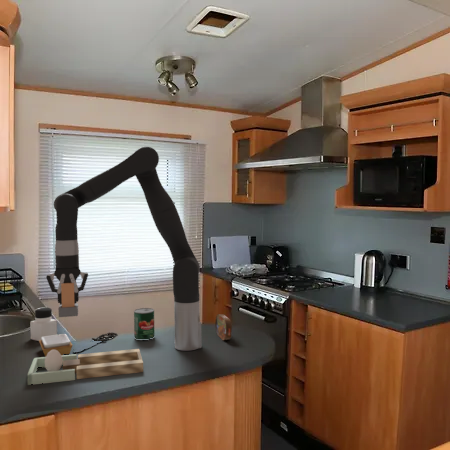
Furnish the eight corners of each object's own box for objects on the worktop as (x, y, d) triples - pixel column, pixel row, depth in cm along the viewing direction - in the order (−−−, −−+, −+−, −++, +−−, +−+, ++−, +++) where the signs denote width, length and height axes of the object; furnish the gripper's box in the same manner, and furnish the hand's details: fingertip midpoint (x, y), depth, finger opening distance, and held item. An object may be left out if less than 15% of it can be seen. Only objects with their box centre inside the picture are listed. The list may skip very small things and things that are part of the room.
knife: (75, 356, 161) (75, 352, 161) (61, 353, 164) (61, 350, 164) (121, 336, 184) (121, 333, 184) (108, 334, 187) (108, 331, 187)
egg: (65, 369, 148) (64, 346, 147) (59, 375, 142) (59, 352, 142) (48, 369, 147) (47, 347, 147) (42, 376, 142) (41, 352, 142)
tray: (76, 362, 153) (76, 354, 153) (74, 380, 139) (74, 370, 139) (34, 367, 150) (34, 358, 150) (27, 385, 135) (27, 375, 135)
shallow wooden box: (139, 357, 158) (139, 348, 158) (143, 371, 145) (143, 362, 145) (78, 363, 153) (78, 354, 153) (76, 379, 140) (76, 369, 139)
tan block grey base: (78, 311, 160) (77, 280, 159) (77, 315, 154) (76, 283, 154) (59, 313, 158) (59, 281, 158) (58, 317, 153) (57, 284, 152)
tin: (214, 332, 188) (214, 311, 187) (222, 331, 189) (222, 311, 188) (225, 343, 173) (225, 321, 173) (233, 342, 174) (233, 320, 174)
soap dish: (72, 355, 161) (72, 341, 161) (43, 360, 157) (42, 345, 156) (67, 345, 172) (66, 332, 172) (39, 349, 168) (38, 336, 167)
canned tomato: (146, 342, 175) (145, 313, 175) (130, 339, 179) (129, 311, 178) (158, 336, 182) (158, 309, 182) (143, 333, 186) (142, 307, 185)
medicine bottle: (57, 337, 182) (56, 307, 181) (41, 342, 176) (41, 311, 175) (46, 334, 186) (45, 305, 185) (30, 339, 180) (29, 309, 179)
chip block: (79, 367, 149) (79, 358, 149) (79, 373, 145) (79, 364, 145) (63, 369, 148) (63, 360, 148) (62, 375, 143) (62, 366, 143)
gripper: (89, 251, 161) (90, 299, 162) (45, 252, 157) (47, 302, 158) (88, 253, 153) (90, 304, 154) (43, 255, 150) (44, 307, 151)
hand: (68, 303), depth 156 cm, fingers closed on tan block grey base, 4 cm apart
